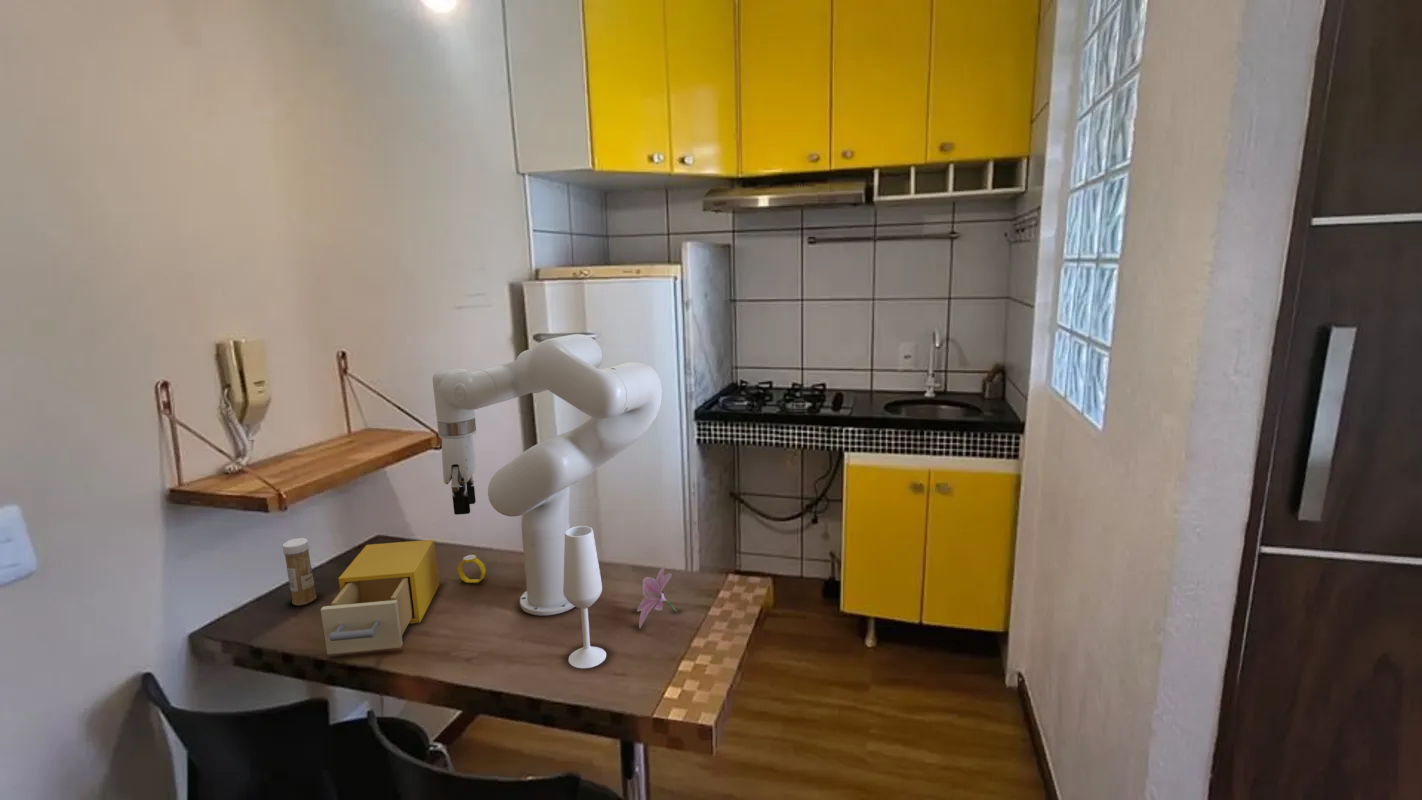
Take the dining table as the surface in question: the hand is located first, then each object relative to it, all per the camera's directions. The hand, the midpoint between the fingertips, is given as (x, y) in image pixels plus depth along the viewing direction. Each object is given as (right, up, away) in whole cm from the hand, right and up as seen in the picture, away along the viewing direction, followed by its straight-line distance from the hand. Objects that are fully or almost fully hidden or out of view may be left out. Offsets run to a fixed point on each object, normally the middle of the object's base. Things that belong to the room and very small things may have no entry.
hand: (465, 507), depth 146 cm
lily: (+42, -20, -12) cm, 48 cm away
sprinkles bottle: (-33, -19, -3) cm, 38 cm away
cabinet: (-12, -19, -6) cm, 24 cm away
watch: (0, -17, +4) cm, 18 cm away
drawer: (-10, -21, -19) cm, 30 cm away
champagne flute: (+31, -23, -26) cm, 46 cm away
